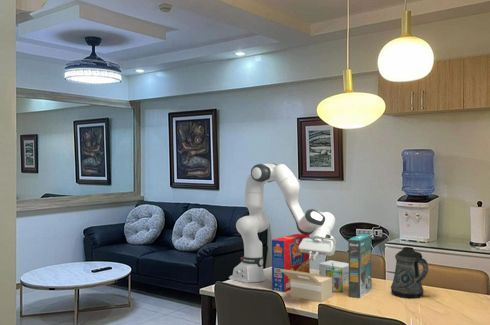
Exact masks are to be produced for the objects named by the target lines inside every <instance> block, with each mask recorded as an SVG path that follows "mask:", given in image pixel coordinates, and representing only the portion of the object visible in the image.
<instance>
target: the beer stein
mask: <svg viewBox="0 0 490 325" xmlns="http://www.w3.org/2000/svg"><path fill="white" fill-rule="evenodd" d="M394 257H395V260H396V262H395V270H394V275H393V280H392V283H391V286H390V291H391V294H392V296H394V297H397V298H400V299H401V298H402V299H408V300H409V299H420V298H422V297H423V295H424V292H425V291H424V288H423V285H422V281H423V280H424V279H425V278H426V277H427V275H428V273H429V264H428V261H427V260H426V258H423V255H422V253H421V252H420V251H419V252H418V251H416V250H415V249H414V247H410V246H404V247H403V248H402V249H401V250H400V251H398V252H397V253H395V255H394ZM419 265H421V267H422V272H420V267H419Z"/></svg>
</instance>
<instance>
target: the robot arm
mask: <svg viewBox="0 0 490 325" xmlns="http://www.w3.org/2000/svg"><path fill="white" fill-rule="evenodd" d="M271 182H275V183H276V184H277V186H278V188H279V189H280V191H281V193H282V195H283V197H284V199H285V203H286V205H287V207H288V209H289V211H290V213H291V215H292V217H293V219H294V221H295V225H296V228H297V231H298V232H299V234H303V235H309V237H306V238H303V240H302V241H301V243H300V245H299V247H298V248H299V250H300V252H304V253H310V257H309V259H310V261H316V259H317V258H318V257H320V255H321V256H330V257H332V256H334V255H335V252H336V246H337V241H336V239H335V237H334V236H333V235H331V234H332V233H333V230H334V228H335V225H336V217H335V216H334V215H333V213H331V212H329V211H324V212H323V211H318V210H316V209H313V208H311V209H308V210H306V211H305V213H304V211H303V209H302V207H301V205H300V203H299V195H300V194H299V193H300V188H301V186H300V182H299V180H298V179H297V177H296V176H295V174H294V173H293V171H292V170H291V169H290V168H289V167H288V166H287V165H286V164H284V163H278V164H276V163H271V162H269V163H268V162H266V163H257V164H255V165H253V167H252V168H251V169H250V174H249V175H247V177H246V182H245V188H244V189H245V190H244V205H245V207H246V208H247V209H248V212H249V215H245V216H242V217H240V218H239V219H238V220H237V221H236V223H235V227H236V230H237V232H238V233H239V234H240V235H241V236H240V237H241V238H242V241H243V250H244V252H243V253H244V255H242V257H240V260H241V262H240V263H238V265H236V266H235V267H234V268H233V271H232V275H230V276H228V279H230V280H234V281H237V282H240V283H244V284H245V283H260V282H265V281H266V278H265V277H266V276H265V273H264V256H263V243H262V241H261V240H260V239H259V236H258V235H259V234H258V233H262V232H264V231H266V230H268V228H269V226H270V225H271V222H270V219H269V217H268V216H267V215H266V213H265V212H266V211H265V209H264V187H265V184H266V183H271ZM312 234H313V235H312ZM310 235H312V237H310Z"/></svg>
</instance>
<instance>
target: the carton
mask: <svg viewBox="0 0 490 325" xmlns="http://www.w3.org/2000/svg"><path fill="white" fill-rule="evenodd" d="M310 274H311V275H312V276H313V277H315V278H316V279H317V280H318V283H313V282H307V281H301V280H295V279H291V282H290V286H291V290H290V297H293V298H298V299H302V300H308V301H313V302H319V303H323V302H324V301H326V300H328V299H330V298H332V297H333V292H332V278H331V277H327V276H321V275H319V274H312V273H310Z"/></svg>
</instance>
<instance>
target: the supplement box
mask: <svg viewBox="0 0 490 325" xmlns="http://www.w3.org/2000/svg"><path fill="white" fill-rule="evenodd" d="M332 263H333V266H334V268H342V279H343V283H346V282H349V262H348V263H347V262H343V261H337V260H331V259H330V260H325V261H323V262H319V263H318V266H319V268H318V269H319V270H318V275H321V276H326V268H333V266H332Z"/></svg>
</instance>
